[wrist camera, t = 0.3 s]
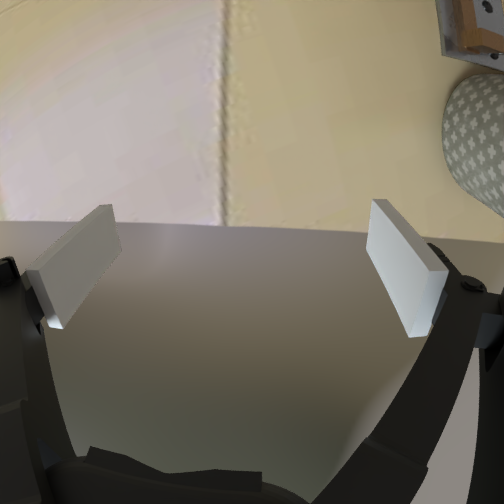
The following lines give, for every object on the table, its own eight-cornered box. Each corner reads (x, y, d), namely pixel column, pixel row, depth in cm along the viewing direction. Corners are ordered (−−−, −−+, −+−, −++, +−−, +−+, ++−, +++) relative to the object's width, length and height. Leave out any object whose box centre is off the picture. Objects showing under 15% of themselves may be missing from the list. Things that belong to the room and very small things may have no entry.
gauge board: (422, -58, 22) (447, -77, 14) (488, -33, 21) (518, -44, 13) (441, 55, 31) (474, 52, 24) (505, 72, 30) (540, 75, 22)
